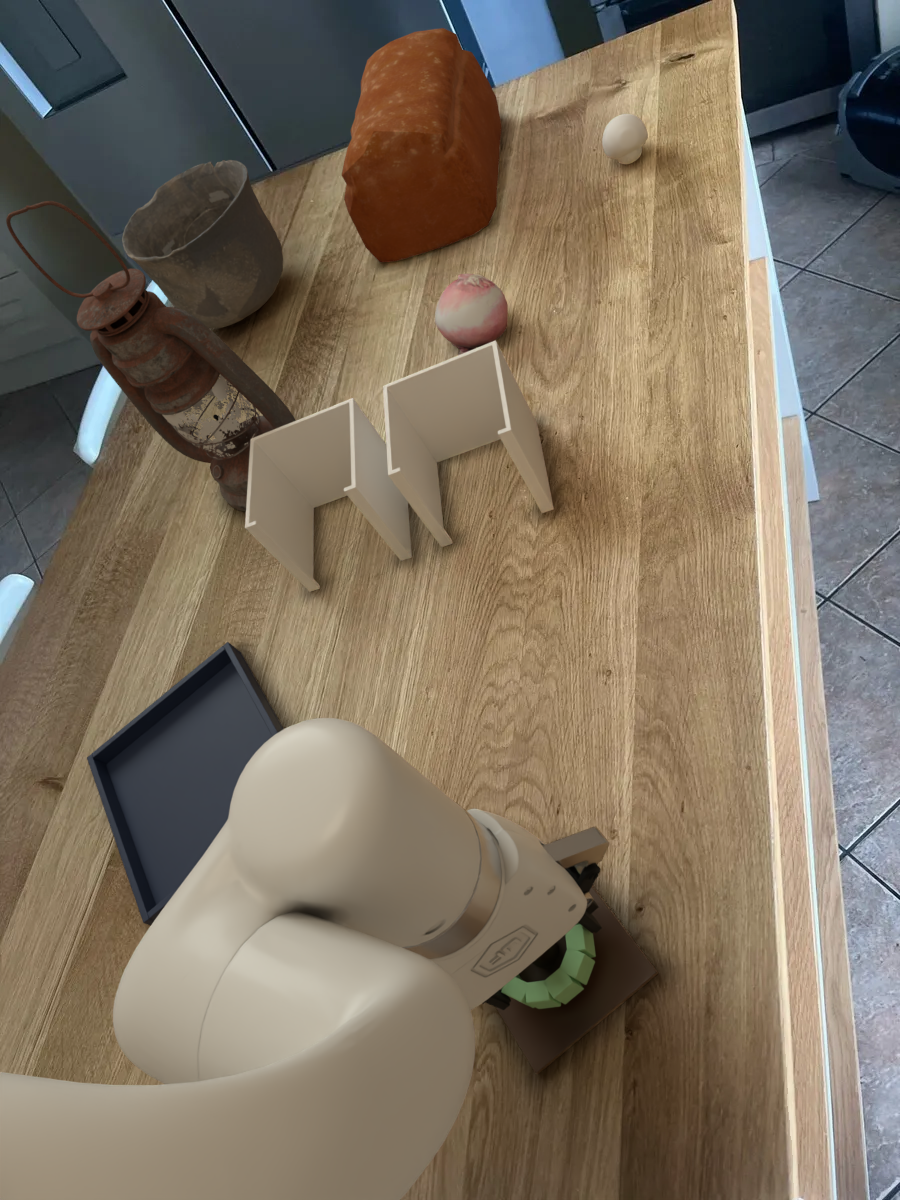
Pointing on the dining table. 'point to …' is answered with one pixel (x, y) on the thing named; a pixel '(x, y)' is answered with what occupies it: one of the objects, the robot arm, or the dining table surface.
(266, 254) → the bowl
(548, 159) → the dining table surface
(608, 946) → the stand
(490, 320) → the onion
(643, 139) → the mushroom
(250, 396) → the lantern
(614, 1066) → the dining table surface
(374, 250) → the bread
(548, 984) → the ring
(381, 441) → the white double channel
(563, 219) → the dining table surface
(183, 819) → the tray
